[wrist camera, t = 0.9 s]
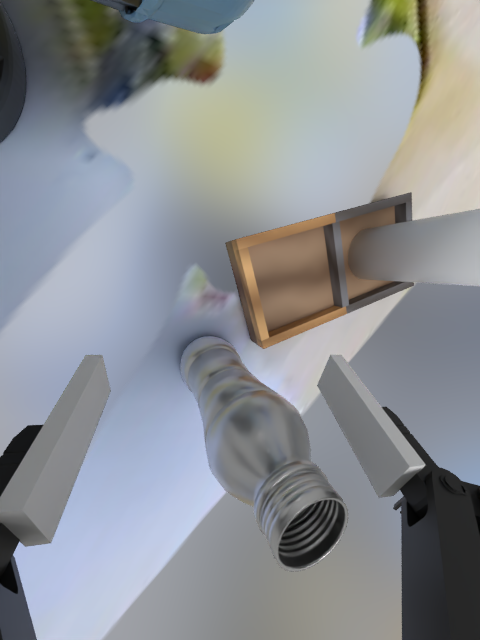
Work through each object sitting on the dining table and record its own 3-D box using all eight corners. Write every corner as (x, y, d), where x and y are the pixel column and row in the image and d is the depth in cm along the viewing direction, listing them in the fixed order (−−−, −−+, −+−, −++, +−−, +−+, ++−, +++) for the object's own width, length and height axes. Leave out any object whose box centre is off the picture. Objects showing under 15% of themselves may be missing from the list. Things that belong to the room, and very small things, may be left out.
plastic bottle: (205, 319, 27) (324, 434, 8) (242, 355, 29) (394, 500, 11) (165, 361, 26) (198, 582, 8) (207, 393, 29) (305, 614, 10)
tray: (225, 242, 26) (235, 239, 22) (385, 199, 32) (411, 192, 29) (251, 339, 29) (263, 348, 26) (390, 283, 36) (413, 285, 33)
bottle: (345, 235, 29) (689, 179, 10) (383, 223, 30) (736, 157, 12) (350, 285, 31) (648, 312, 12) (386, 271, 32) (693, 277, 14)
